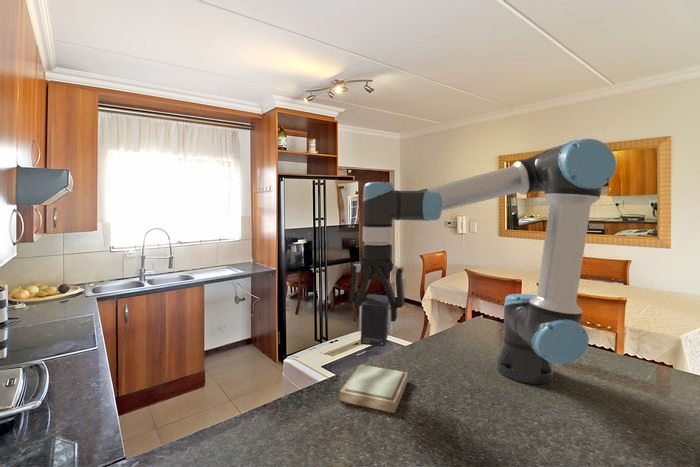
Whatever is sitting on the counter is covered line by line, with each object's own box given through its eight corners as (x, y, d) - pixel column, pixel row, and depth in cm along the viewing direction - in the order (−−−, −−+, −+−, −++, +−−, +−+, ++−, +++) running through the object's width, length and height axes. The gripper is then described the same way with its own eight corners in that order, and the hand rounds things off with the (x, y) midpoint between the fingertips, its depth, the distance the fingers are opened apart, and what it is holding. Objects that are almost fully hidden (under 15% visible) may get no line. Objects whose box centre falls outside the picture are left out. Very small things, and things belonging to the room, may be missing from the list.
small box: (386, 347, 85) (386, 305, 84) (359, 345, 86) (360, 303, 86) (390, 332, 96) (390, 294, 95) (366, 330, 97) (367, 293, 96)
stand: (407, 381, 97) (407, 370, 97) (394, 412, 82) (394, 400, 82) (360, 372, 102) (360, 362, 102) (339, 401, 87) (339, 389, 87)
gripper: (418, 243, 89) (416, 331, 91) (346, 240, 96) (345, 321, 98) (413, 246, 82) (411, 341, 84) (335, 242, 89) (335, 330, 91)
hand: (375, 330), depth 91 cm, fingers closed on small box, 7 cm apart
